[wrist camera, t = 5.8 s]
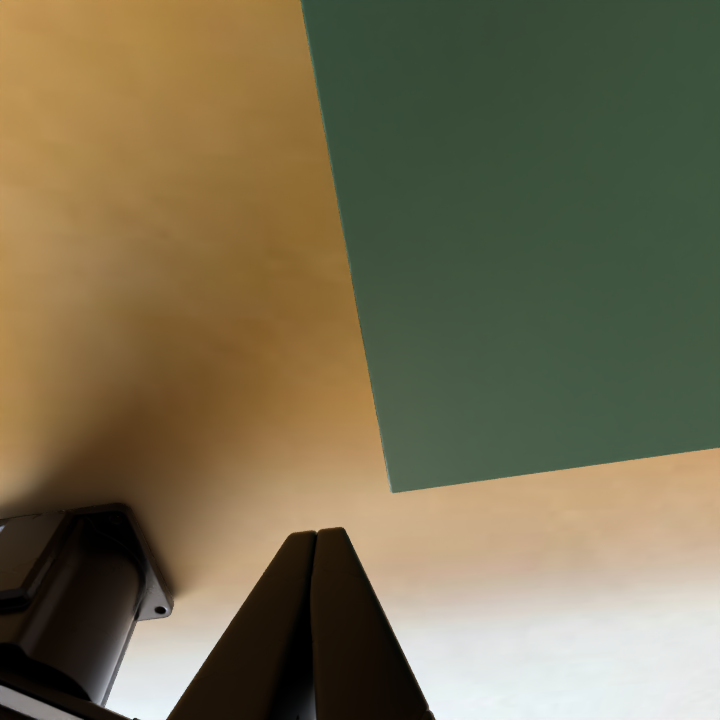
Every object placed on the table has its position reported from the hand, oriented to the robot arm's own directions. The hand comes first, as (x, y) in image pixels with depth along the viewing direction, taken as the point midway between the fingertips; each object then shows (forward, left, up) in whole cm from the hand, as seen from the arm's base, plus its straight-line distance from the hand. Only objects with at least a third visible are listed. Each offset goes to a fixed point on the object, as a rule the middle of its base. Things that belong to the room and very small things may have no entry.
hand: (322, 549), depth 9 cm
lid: (+3, -7, -7) cm, 10 cm away
